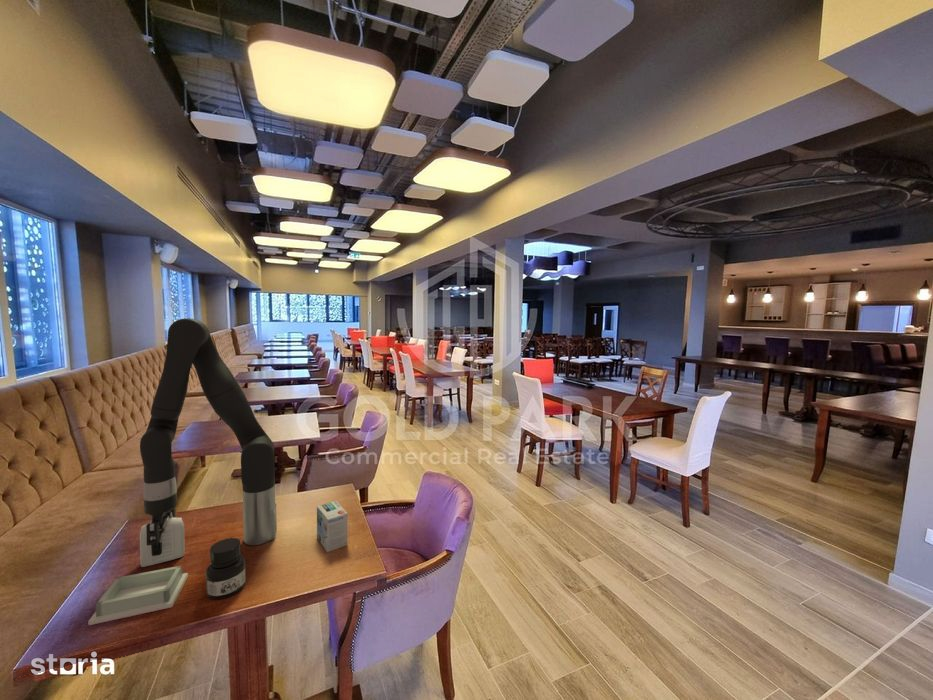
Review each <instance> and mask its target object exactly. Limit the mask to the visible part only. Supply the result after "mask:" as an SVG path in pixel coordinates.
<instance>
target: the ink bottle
mask: <svg viewBox="0 0 933 700" xmlns="http://www.w3.org/2000/svg"><path fill="white" fill-rule="evenodd" d="M241 547H242V546H241V540H240V538H237V537H236V538H235V537H230V538H224V539H221V540H219V541H217V542H214V543H213V544H212V545H211V546H210V548H209V559H210V562H209V563H210V564H209V565H208V566H207V567H206V570H205V582H206V583H205V588H206V589H205V590H206V596H207V597H208V598H209V599H212V600H220V599H224V598H225V599H226V598H228V597H230V596H233V595H235V594H237V593H238V592H240V591H241V590H242V589H243V588H244V587H245V585H246V583H247V582H246V581H247V577H246V576H247V575H246V569H247V568H246V559H245V557H244V556H243V555H241V552H242V551H241V550H242V549H241Z"/></svg>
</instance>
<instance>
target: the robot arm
mask: <svg viewBox="0 0 933 700" xmlns="http://www.w3.org/2000/svg"><path fill="white" fill-rule="evenodd" d="M166 341H167V343H166V354H165V359H164V364H163V368H162V372H161V376H160V380H159V381H158V384H157V385H158V386H157V388H156V392H155V394H154V398H153V400H152V405H151V409H150V416H151V417H150V419H149V422H148V425H147V428H146V431H145V432H144V434H143V435H142V436H141V437H140V441H139V451H140V457H141V461H142V465H143V487H142V488H143V490H142V492H143V495H142V496H143V510H144V511H143V512H144V514H146V515H149V516H151V518H150V522H149V523H150V524H148V523H146V524H147V526H146V531H147V546H148V545H151V550H152V556H157V555H161V553H162V536H163V534H164V533H165V531H166V525H167V523H168V520H169V518H174V517H176V507H177V505H178V489H177V488H178V486H177V480H176V467H175V460H174V458H173V456H172V455H173V454H172V452H173V451H172V447H173V446H172V444H173V441H174V440H175V436H176V434H177V428H178V424H179V417H180V416H181V413H182V410H183V407H184V404H185V400H186V396H187V393H188V386H189V380H190V379H189V378H190V374H191V373H190V372H191V369H192V366H193V367H194V369H195V372H196V375H197V377H198V378H197V379H198V381H199V384H200V387H201V389H202V392H203V394H204V396H205V398H206V400H207V401H208V403H209V405H210V406H211V408H212V409H213V411H214V413H215V414H216V415H217V416H218V417H219V418H220V419H221V420H222V422H224V423H225V424H226V425H227V426H228V427H229V428H230V429H231V431H232V432H233V433H234V435H235V437H236V439H237V441H238V443H239V445H240V447H241V455H240V474H241V477H240V478H241V484H242V485H241V486H242V519H243V542H244V544H245V545H248V546H259V545H263V544H265V543H268V542H270V541H272V540H276V535H277V503H276V483H275V482H276V476H275V475H276V473H275V444H274V443H273V440H272V439H271V438H270V437H269V436H268V434H267V433H266V431H265V430H264V429H263V427H262V426H261V425H260V422H259V421H258V420H257V418H256V416H255V414H254V411H253V409H252V406H251V405H250V403H249V401H248V399H247V397H246V395H245V392H244V391H243V389H242V387H241V386H240V384H239V382H238V380H237V379H236V378H235V376H234V374H233V373H232V371H231V370H230V368H229V367H228V366H227V364H226V363H225V362H224V360H223V359H222V358H221V355H220V354H219V352H218V349H217V348H216V345H215V343H214V341H213V337H212V336H211V333H210V331H209V329H208V327H207V326H206V324H205V323H204V322H202V321H201V320H198V319H195V318H179V319H178V320H175V321H174V322H172V323H171V324H170V326H169V327H168V330H167V340H166ZM159 529H162V530H160V531H159ZM154 536H155V539H154Z"/></svg>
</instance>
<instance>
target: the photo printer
mask: <svg viewBox="0 0 933 700" xmlns="http://www.w3.org/2000/svg"><path fill="white" fill-rule="evenodd" d="M147 524H150V522H148V523H146V524H144V525H142V526H141V528H140V531H139V559H140V561H139V563H140V564H139V565H140V567H141V568H146V567H150V566H155V565H158V564H161V563H165V562H170V561H174V560H176V559H179V558H182V557H184V556H185V524H184V521H183V518H182V517H174V518H169V520H168V523H167V525H166V531H165V533H164V534H163V536H162V553H161V555H157V556H152V550H151V545H148V546H147V531H146V526H147ZM160 530H162V529H159V531H160ZM154 539H155V536H154Z"/></svg>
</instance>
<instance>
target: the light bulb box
mask: <svg viewBox="0 0 933 700" xmlns="http://www.w3.org/2000/svg"><path fill="white" fill-rule="evenodd" d="M316 537H317V539H318V541H319V542H320V544H321V545H322V546H323V548H324V550H325V551H326V552H327V553H329V552H332V551H334V550H337V549H340V548H342V547H345V546H348V512H347V511H346V510H345V509H344V507H343V506H341V504H340V503H339V502H338V501H337V500H333V501H331V502H328V503H324V504H321V505H318V506H316Z"/></svg>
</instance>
